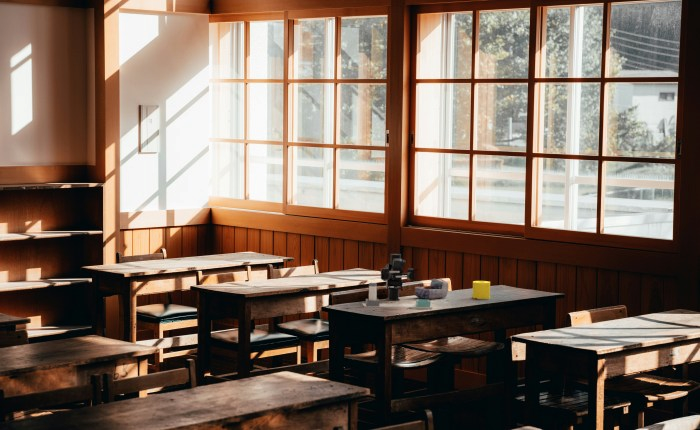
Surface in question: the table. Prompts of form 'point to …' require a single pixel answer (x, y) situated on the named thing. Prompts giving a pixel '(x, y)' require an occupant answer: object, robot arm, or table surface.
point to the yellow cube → (481, 289)
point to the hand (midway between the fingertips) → (399, 276)
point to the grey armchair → (432, 290)
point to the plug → (372, 291)
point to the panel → (419, 304)
